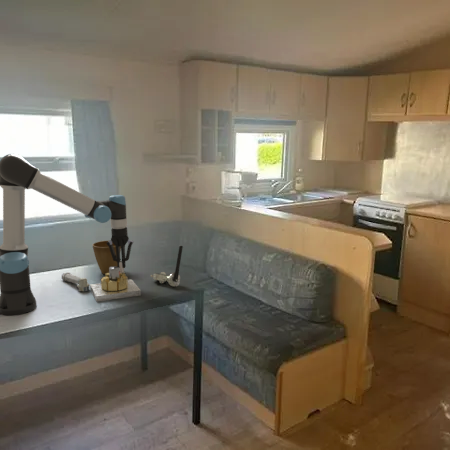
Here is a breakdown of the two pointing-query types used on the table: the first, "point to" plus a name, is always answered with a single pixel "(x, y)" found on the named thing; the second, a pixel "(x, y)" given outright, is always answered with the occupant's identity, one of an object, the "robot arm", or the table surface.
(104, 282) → the yellow valve with lever
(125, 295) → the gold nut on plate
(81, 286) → the white handheld device
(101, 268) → the plant pot
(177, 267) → the butterfly valve
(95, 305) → the table surface
